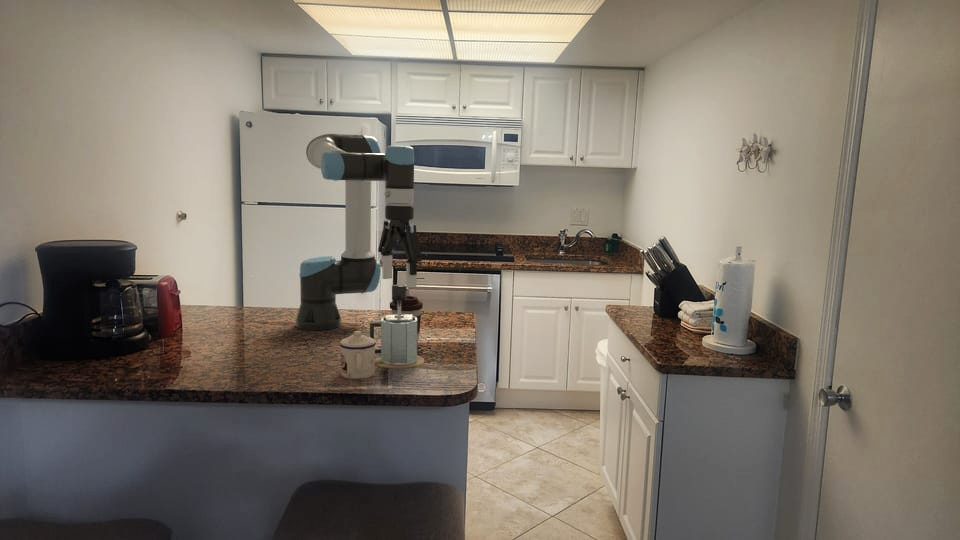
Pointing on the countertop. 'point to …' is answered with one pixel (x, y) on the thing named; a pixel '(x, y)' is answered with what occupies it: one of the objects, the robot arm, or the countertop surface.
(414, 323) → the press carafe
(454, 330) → the countertop surface
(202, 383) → the countertop surface
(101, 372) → the countertop surface
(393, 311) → the coffee cup
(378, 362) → the cork trivet
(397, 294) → the plunger
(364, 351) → the teacup with lid
